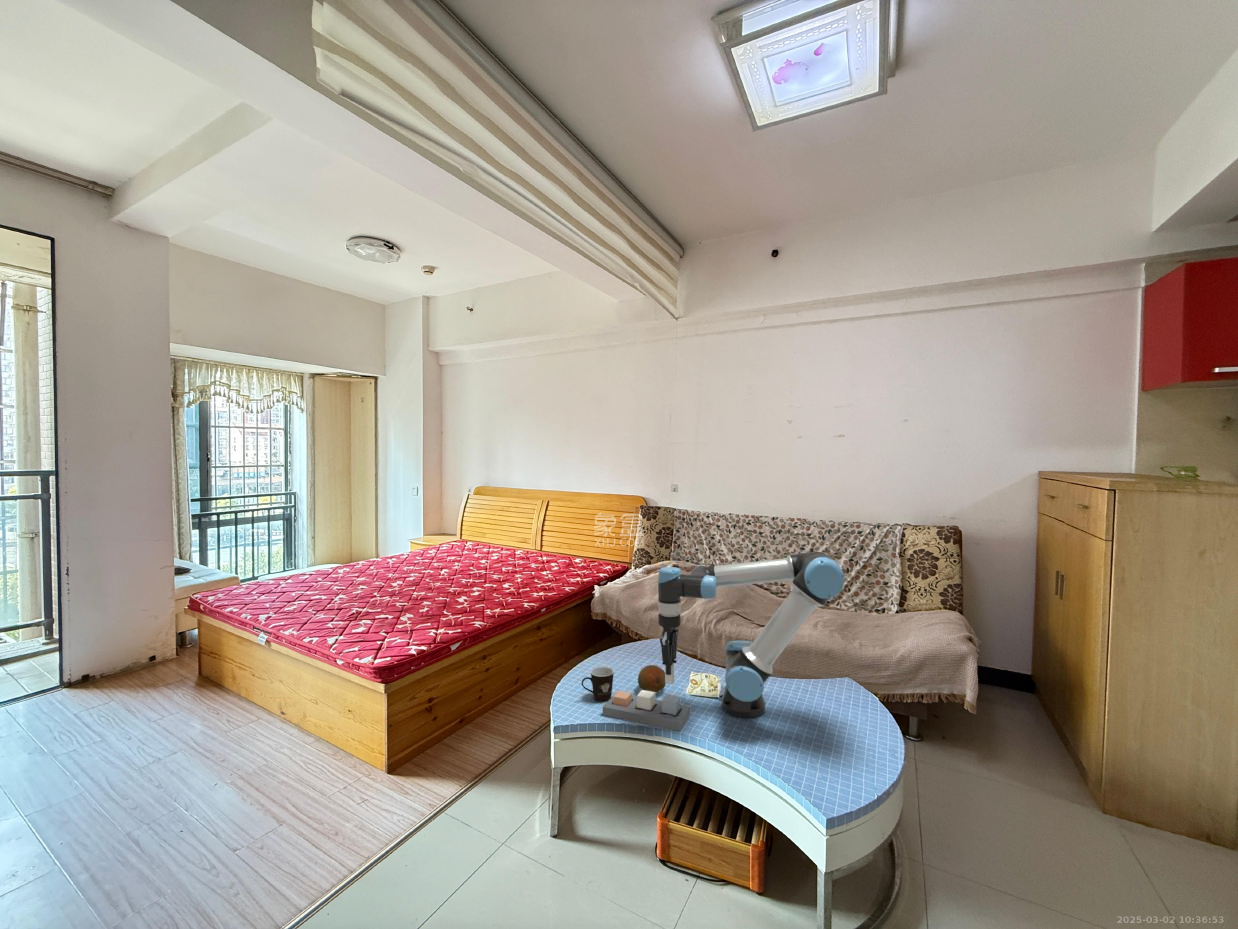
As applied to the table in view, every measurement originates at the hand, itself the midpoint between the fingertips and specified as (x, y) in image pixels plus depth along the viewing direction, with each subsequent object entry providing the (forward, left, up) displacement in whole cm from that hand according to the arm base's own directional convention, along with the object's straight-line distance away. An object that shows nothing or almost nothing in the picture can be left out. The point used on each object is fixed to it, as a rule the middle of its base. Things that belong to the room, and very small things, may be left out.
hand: (669, 682), depth 171 cm
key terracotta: (+18, 0, -11) cm, 21 cm away
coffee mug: (+30, -5, -13) cm, 33 cm away
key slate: (0, 0, -9) cm, 9 cm away
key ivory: (+9, 0, -9) cm, 13 cm away
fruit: (+14, -18, -13) cm, 26 cm away
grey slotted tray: (+9, 0, -13) cm, 15 cm away
